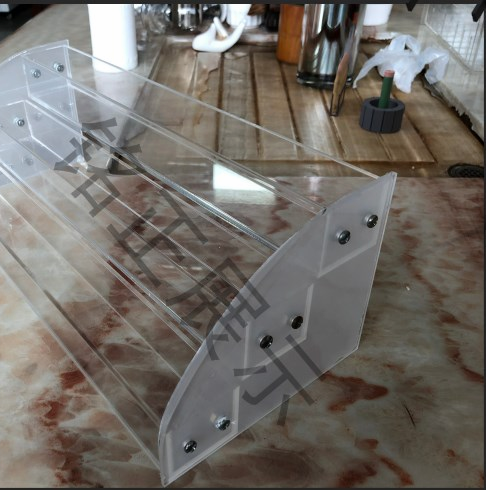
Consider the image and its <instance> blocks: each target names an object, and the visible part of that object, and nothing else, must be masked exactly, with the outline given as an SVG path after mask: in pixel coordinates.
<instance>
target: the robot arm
mask: <svg viewBox="0 0 486 490" xmlns="http://www.w3.org/2000/svg"><path fill="white" fill-rule="evenodd" d="M418 2H419V0H406V1H405V3H404V4H405V7H406V9H407V11H408V12H413V10H414V8H415V7H416V5H417V3H418ZM485 10H486V0H478V1H477V3H476V4H475V6H474V7H473V9H472V11H471V12H470V13H471V14H470V15H471V18H472V22H473V23H478V22H479V20H480V19H481V17H482V15H483V13H484V12H485Z"/></svg>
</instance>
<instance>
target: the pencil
mask: <svg viewBox="0 0 486 490" xmlns="http://www.w3.org/2000/svg"><path fill="white" fill-rule="evenodd" d="M395 74H396V71H395V70H393V69H386V70H384V74H383V78H382V84H381V90H380V95H379V97H380V100H379V106H378V108H382V109H388V105H389V100H390V98H391V94H392V89H393V84H394V78H395Z"/></svg>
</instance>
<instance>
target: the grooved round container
mask: <svg viewBox="0 0 486 490" xmlns="http://www.w3.org/2000/svg"><path fill="white" fill-rule="evenodd" d="M379 100H380V96H371V97H368V98H364V99H363V101H361V107H360V114H359V119H358V125H359V127H360V128H361V129H363V130H365V131H367V132H371V133H376V134H393V133H397V132H399V131H401V128H402V124H403V119H404V114H405V109H406V104H405V103H404V102H403V101H401V100H400V99H396V98H393V97H390V100H389V105H388V109H382V108H378V106H379Z"/></svg>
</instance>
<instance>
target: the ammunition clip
mask: <svg viewBox="0 0 486 490" xmlns="http://www.w3.org/2000/svg"><path fill="white" fill-rule="evenodd" d="M348 66H349V53H348V50H346V51H345V52H344V54H343V57H342V59H341V61H340V62H339V64H338V67H337V70H336V74H335V79H334V83H333V91H332V93H331V98H330V104H329V105H330V106H329V112H328V116H331V117H338V116H339V114H340V112H341V109H342V107H343V104H344V102H345V95H346V89H347V84H348V83H347V82H348V81H347V79H348V78H347V77H348Z"/></svg>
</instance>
